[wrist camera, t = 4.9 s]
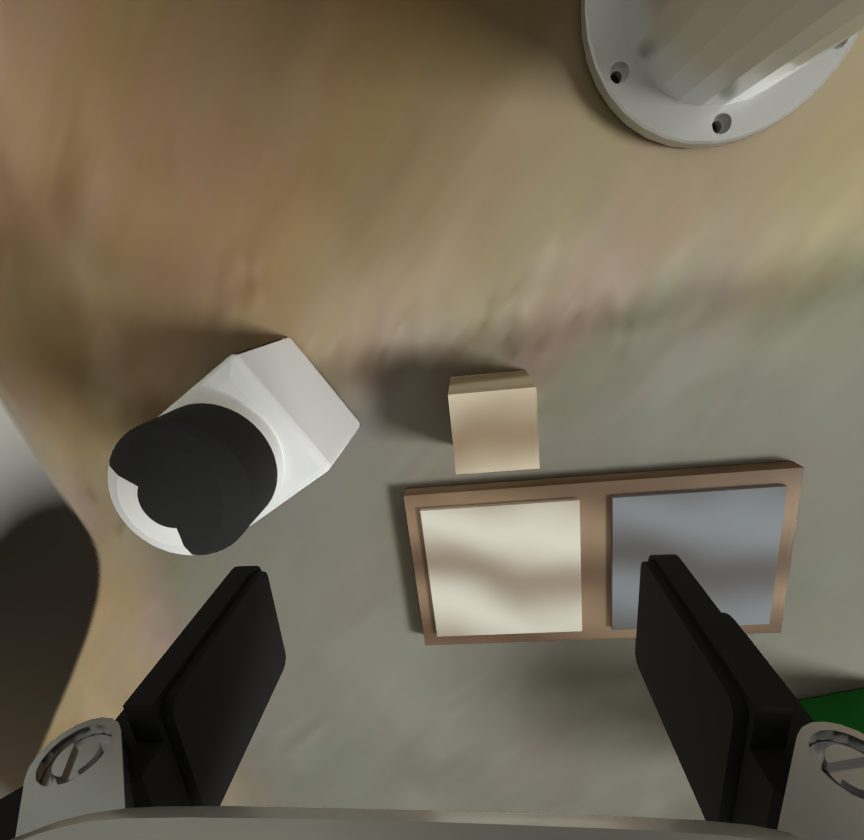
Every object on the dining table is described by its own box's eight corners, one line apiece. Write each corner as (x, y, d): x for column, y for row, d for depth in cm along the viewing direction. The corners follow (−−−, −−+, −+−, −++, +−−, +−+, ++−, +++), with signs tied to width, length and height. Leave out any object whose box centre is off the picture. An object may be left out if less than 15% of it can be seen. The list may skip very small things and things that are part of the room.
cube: (450, 376, 27) (448, 394, 23) (524, 369, 27) (536, 386, 23) (457, 445, 29) (456, 474, 25) (528, 439, 28) (539, 468, 24)
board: (405, 489, 30) (402, 498, 29) (792, 460, 27) (807, 469, 26) (426, 634, 33) (425, 648, 32) (770, 621, 31) (783, 635, 30)
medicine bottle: (289, 333, 27) (162, 374, 16) (363, 424, 29) (295, 521, 17) (209, 399, 29) (43, 479, 18) (283, 482, 30) (173, 605, 19)
